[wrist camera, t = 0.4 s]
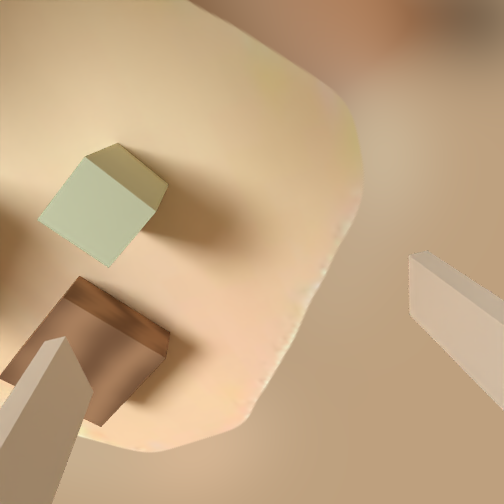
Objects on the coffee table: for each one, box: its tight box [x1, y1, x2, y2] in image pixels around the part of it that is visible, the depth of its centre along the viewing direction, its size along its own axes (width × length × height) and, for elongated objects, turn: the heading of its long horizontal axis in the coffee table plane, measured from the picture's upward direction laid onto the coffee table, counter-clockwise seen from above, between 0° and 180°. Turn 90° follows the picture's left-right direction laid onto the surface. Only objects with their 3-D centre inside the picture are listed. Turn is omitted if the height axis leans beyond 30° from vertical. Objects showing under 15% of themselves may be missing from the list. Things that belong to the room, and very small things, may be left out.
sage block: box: [37, 143, 169, 268], centre depth 31 cm, size 6×6×10 cm
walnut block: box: [0, 276, 170, 427], centre depth 39 cm, size 12×12×5 cm
